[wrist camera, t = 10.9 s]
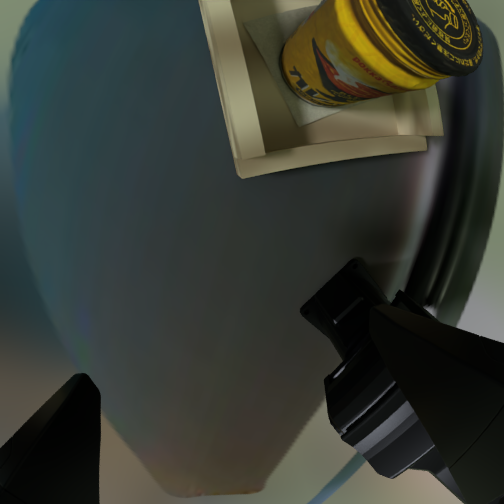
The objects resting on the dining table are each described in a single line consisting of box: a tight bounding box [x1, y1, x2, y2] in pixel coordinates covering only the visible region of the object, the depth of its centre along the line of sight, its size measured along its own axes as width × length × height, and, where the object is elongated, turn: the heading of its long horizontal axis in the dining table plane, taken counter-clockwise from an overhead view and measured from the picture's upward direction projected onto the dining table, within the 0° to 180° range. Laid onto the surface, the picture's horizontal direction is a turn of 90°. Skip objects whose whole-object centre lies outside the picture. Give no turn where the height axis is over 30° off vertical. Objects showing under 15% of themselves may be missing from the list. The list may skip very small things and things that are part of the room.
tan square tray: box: [199, 0, 444, 179], centre depth 14 cm, size 15×14×5 cm
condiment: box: [243, 0, 483, 127], centre depth 9 cm, size 7×8×12 cm
